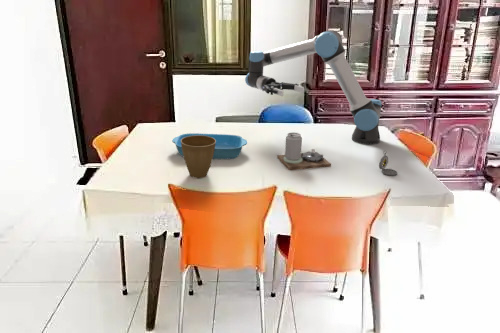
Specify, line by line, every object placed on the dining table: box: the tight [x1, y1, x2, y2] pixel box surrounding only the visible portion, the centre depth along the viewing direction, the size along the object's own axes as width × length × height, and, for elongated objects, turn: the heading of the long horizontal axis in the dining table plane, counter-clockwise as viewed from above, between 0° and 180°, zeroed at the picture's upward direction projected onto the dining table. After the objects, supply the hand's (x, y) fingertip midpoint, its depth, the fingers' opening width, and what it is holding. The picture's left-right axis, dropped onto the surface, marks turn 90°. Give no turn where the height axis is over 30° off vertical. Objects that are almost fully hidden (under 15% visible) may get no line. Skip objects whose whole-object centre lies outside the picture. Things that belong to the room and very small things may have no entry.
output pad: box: [283, 156, 303, 164], centre depth 205 cm, size 9×9×1 cm
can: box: [284, 132, 303, 160], centre depth 202 cm, size 8×8×12 cm
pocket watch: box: [378, 151, 398, 176], centre depth 196 cm, size 8×8×10 cm
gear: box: [301, 148, 325, 163], centre depth 207 cm, size 11×11×5 cm
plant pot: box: [181, 135, 216, 179], centre depth 187 cm, size 15×15×16 cm
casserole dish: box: [172, 132, 248, 160], centre depth 215 cm, size 37×22×7 cm, turn 90°
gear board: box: [276, 151, 332, 171], centre depth 207 cm, size 21×16×2 cm
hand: (293, 91), depth 212 cm, fingers open, 13 cm apart
